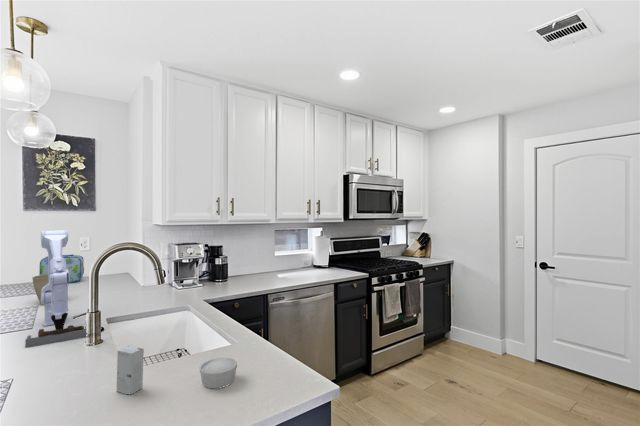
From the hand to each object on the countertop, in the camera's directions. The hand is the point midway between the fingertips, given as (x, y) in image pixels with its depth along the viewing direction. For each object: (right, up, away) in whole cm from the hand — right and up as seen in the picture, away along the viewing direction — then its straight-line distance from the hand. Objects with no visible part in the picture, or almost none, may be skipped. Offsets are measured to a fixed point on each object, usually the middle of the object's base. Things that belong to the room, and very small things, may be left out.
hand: (59, 331), depth 146 cm
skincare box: (+56, -1, -46) cm, 73 cm away
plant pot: (-44, -1, +49) cm, 66 cm away
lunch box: (-80, -1, +107) cm, 133 cm away
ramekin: (+81, -1, -41) cm, 91 cm away
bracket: (+4, -1, -6) cm, 7 cm away
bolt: (+4, -2, -4) cm, 6 cm away
